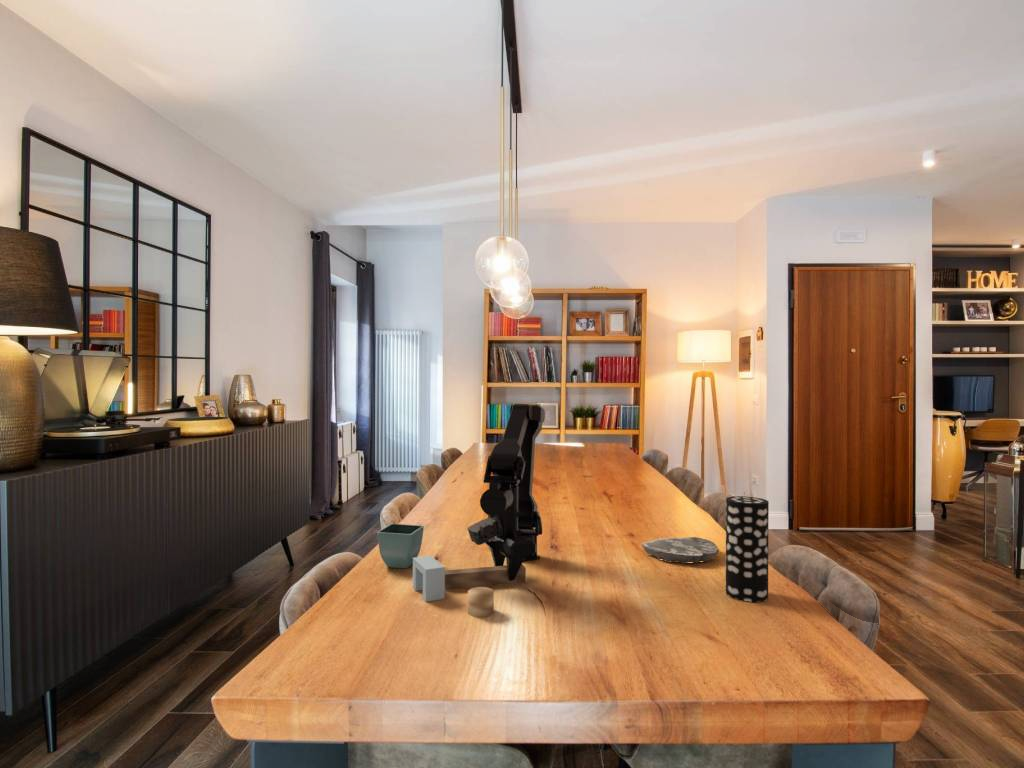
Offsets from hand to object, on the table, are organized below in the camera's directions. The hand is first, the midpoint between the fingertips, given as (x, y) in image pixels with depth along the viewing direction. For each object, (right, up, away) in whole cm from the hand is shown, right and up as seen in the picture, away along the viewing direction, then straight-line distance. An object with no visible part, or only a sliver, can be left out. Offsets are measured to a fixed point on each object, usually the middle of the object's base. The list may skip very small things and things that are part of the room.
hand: (505, 576), depth 130 cm
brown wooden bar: (-4, -1, -2) cm, 5 cm away
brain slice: (+46, -2, +20) cm, 50 cm away
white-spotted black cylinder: (+51, -2, -8) cm, 52 cm away
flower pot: (-25, -1, +11) cm, 28 cm away
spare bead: (-4, -1, -18) cm, 18 cm away
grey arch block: (-16, -1, -8) cm, 18 cm away
